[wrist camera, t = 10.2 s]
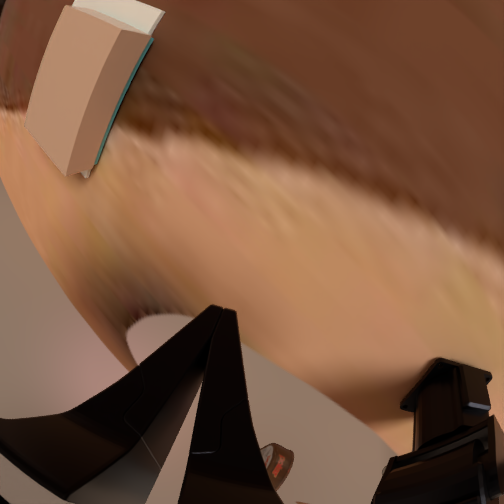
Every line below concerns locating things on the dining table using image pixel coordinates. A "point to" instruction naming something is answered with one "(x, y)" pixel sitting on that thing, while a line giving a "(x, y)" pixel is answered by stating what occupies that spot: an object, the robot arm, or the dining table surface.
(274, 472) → the tin
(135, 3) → the mat
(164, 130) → the dining table surface
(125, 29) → the tile
